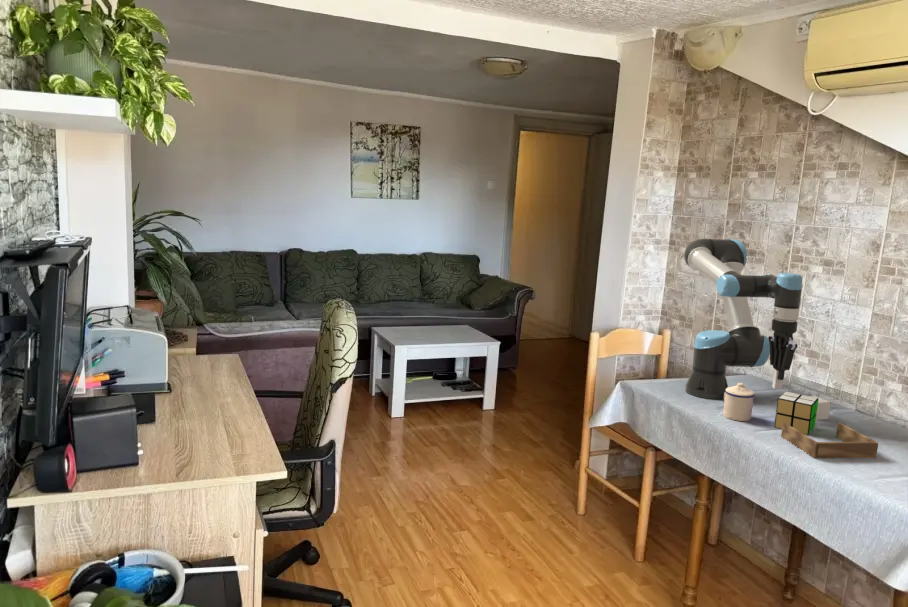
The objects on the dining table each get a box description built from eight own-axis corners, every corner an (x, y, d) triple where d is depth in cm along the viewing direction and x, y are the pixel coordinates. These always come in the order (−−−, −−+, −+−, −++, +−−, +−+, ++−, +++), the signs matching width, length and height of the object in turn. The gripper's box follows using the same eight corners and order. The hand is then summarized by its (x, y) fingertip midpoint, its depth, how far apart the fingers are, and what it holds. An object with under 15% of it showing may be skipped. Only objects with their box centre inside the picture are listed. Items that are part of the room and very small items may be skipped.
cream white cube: (828, 418, 217) (830, 401, 216) (815, 420, 215) (818, 403, 214) (812, 412, 222) (815, 396, 221) (800, 414, 220) (802, 397, 219)
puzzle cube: (781, 419, 215) (785, 391, 213) (815, 427, 208) (819, 397, 207) (773, 427, 207) (777, 398, 205) (808, 435, 201) (812, 405, 199)
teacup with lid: (757, 421, 212) (761, 387, 210) (733, 422, 210) (737, 388, 208) (735, 408, 224) (738, 376, 222) (711, 410, 222) (715, 377, 220)
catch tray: (781, 436, 199) (782, 423, 198) (838, 436, 201) (840, 422, 200) (813, 458, 183) (815, 443, 182) (876, 457, 185) (878, 443, 184)
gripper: (763, 316, 219) (756, 382, 223) (786, 323, 207) (777, 393, 211) (784, 316, 220) (776, 382, 224) (808, 323, 207) (799, 393, 211)
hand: (777, 388), depth 217 cm, fingers closed
